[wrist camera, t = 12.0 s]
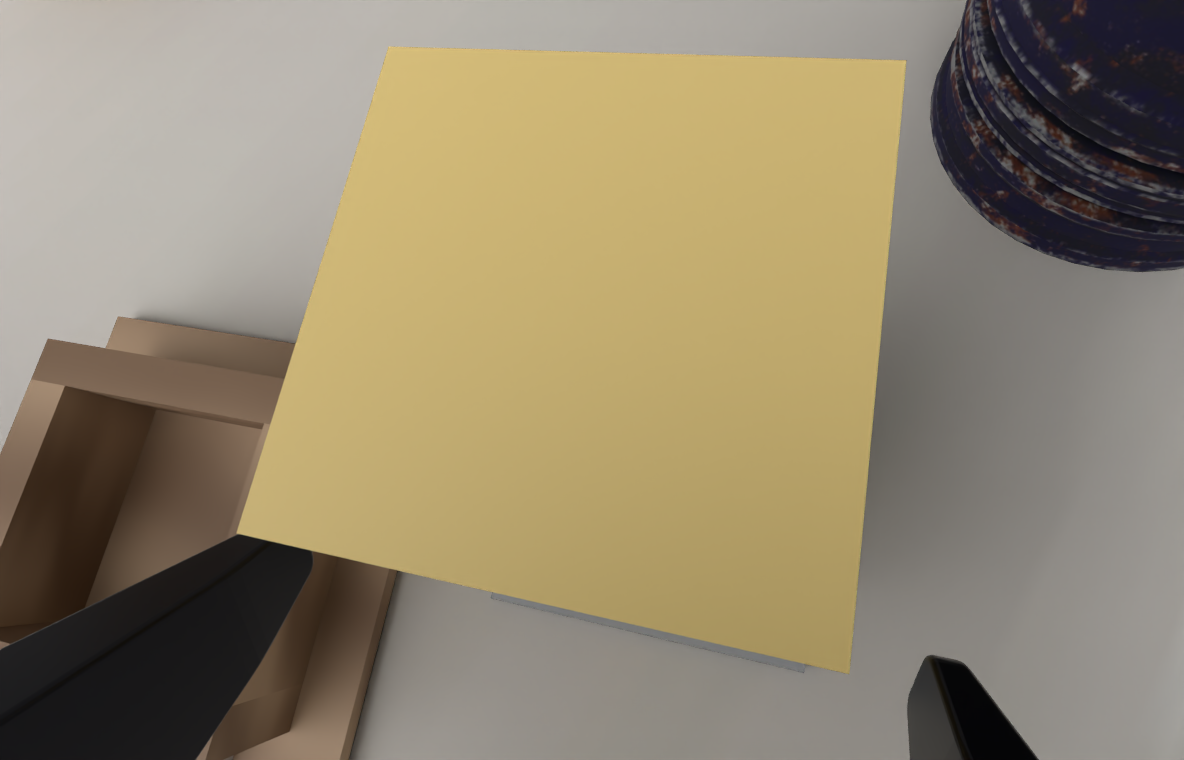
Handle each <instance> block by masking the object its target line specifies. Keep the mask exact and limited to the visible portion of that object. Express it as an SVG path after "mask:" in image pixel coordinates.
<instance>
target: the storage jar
mask: <svg viewBox="0 0 1184 760" xmlns="http://www.w3.org/2000/svg"><path fill="white" fill-rule="evenodd" d="M930 120H931V127H932V134H933V140H934V144H935V147H936V150H937V152H938V155H939V158H940V161H941V164H942V165H943V167H944V169H945V171H946V172H947V174H948V176H949V178H950V179H951V181H952V183H953V185H954V186H955V187H956V188H957V190H958V191H959V192H960V193H961V195H962V196H963V197H964V198H965V199H966V201H967V202H968V203H969V204H970V205H971V206H972V207H973V208H974V209H975V210H976V211H977V212H978V213H980V214H981V215H982V216H983V217H984V218H985V219H986V220H987V221H989V222H990V223H991V224H992V225H994V226H995V227H997V228H998V229H1000V230H1001V231H1003V232H1004V233H1006V234H1007V235H1009V236H1010V237H1012V238H1014V239H1015V240H1017V241H1019V242H1021V243H1023V244H1025V245H1027V246H1029V247H1032V248H1034V249H1036V250H1038V251H1040V252H1042V253H1044V254H1047V255H1050V256H1053V257H1056V258H1060V259H1063V260H1066V261H1069V262H1072V263H1075V264H1080V265H1086V266H1091V267H1096V268H1101V269H1106V270H1120V271H1135V272H1145V271H1162V270H1175V269H1180V268H1184V0H967V1H966V5H965V9H964V13H963V17H962V21H961V25H960V27H959V29H958V32H957V35H956V38H955V39H954V41H953V42H952V44H951V46H950V48H949V51H948V53H947V55H946V57H945V59H944V61H943V63H942V66H941V68H940V70H939V72H938V74H937V77H936V81H935V85H934V89H933V93H932V97H931V115H930Z"/></svg>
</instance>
